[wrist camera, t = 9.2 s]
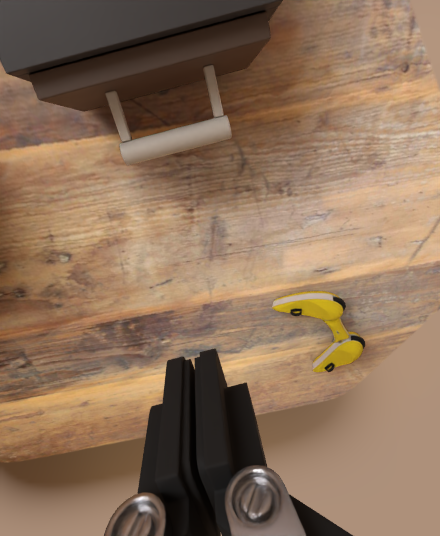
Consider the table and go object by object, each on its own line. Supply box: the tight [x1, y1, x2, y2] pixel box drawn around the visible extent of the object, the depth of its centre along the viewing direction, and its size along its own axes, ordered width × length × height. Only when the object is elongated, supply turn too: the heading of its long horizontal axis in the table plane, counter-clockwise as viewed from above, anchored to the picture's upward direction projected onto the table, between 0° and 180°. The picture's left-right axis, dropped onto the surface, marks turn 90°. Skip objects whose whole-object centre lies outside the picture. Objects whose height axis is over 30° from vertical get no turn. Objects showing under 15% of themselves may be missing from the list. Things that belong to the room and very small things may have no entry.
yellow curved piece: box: [273, 291, 365, 372], centre depth 31 cm, size 10×6×4 cm, turn 32°
